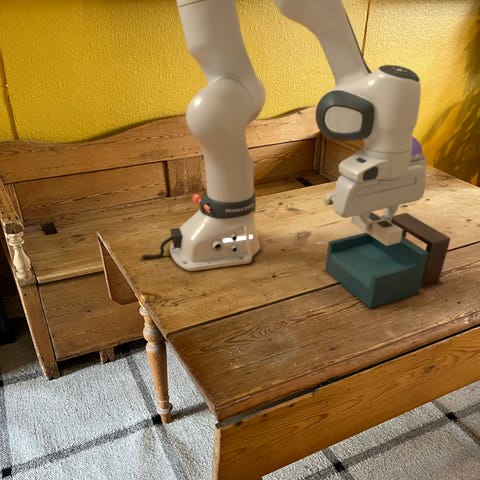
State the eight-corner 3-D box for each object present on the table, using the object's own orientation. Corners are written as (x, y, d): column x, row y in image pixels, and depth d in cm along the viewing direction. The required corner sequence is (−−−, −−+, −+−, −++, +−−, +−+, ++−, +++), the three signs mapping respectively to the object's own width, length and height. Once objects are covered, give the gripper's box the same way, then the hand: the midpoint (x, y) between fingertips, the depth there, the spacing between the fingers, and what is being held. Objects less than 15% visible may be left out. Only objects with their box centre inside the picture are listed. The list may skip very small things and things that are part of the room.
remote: (386, 246, 99) (388, 232, 97) (351, 222, 108) (352, 209, 106) (400, 242, 100) (403, 228, 98) (364, 219, 109) (366, 206, 107)
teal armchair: (370, 308, 104) (377, 267, 98) (325, 270, 116) (329, 231, 110) (418, 293, 108) (429, 252, 102) (370, 257, 121) (377, 219, 114)
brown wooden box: (421, 287, 110) (432, 243, 103) (381, 258, 120) (389, 216, 113) (438, 282, 112) (450, 238, 105) (397, 254, 122) (406, 212, 115)
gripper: (416, 147, 101) (404, 211, 109) (331, 165, 94) (325, 231, 102) (439, 157, 96) (425, 222, 104) (351, 175, 89) (343, 244, 98)
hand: (375, 227), depth 103 cm, fingers closed on remote, 3 cm apart
